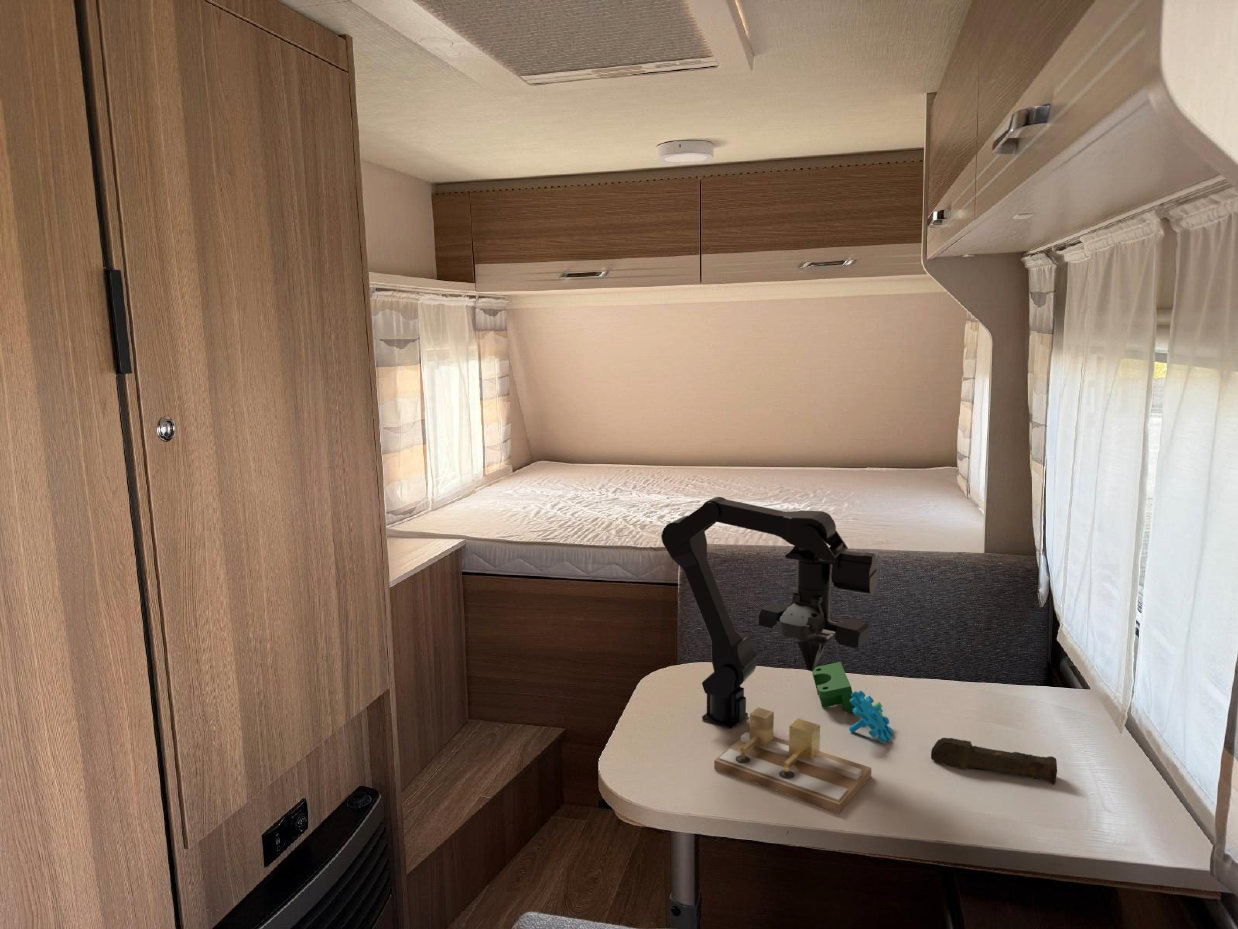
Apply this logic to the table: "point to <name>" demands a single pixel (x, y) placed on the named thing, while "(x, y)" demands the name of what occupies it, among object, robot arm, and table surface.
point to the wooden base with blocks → (807, 780)
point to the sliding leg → (802, 742)
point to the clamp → (833, 686)
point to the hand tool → (993, 759)
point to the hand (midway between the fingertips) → (811, 670)
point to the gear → (870, 717)
